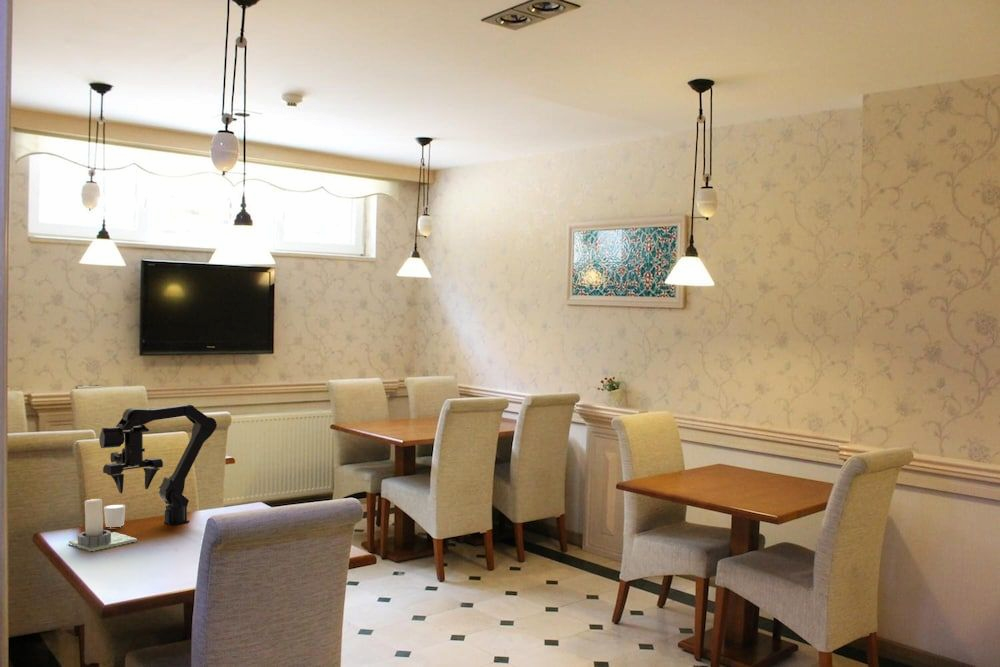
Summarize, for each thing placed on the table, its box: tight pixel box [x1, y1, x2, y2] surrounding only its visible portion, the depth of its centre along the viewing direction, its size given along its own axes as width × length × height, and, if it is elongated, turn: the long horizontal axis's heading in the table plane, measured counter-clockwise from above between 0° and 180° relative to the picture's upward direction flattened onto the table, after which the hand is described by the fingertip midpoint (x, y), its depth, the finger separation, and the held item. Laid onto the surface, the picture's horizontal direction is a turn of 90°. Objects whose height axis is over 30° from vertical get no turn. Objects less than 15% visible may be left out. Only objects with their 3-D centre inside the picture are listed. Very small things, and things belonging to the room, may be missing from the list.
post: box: [84, 498, 104, 537], centre depth 270 cm, size 5×5×13 cm
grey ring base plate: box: [68, 529, 138, 552], centre depth 272 cm, size 15×14×4 cm
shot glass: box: [103, 503, 126, 529], centre depth 294 cm, size 7×7×7 cm
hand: (133, 491), depth 290 cm, fingers open, 9 cm apart
